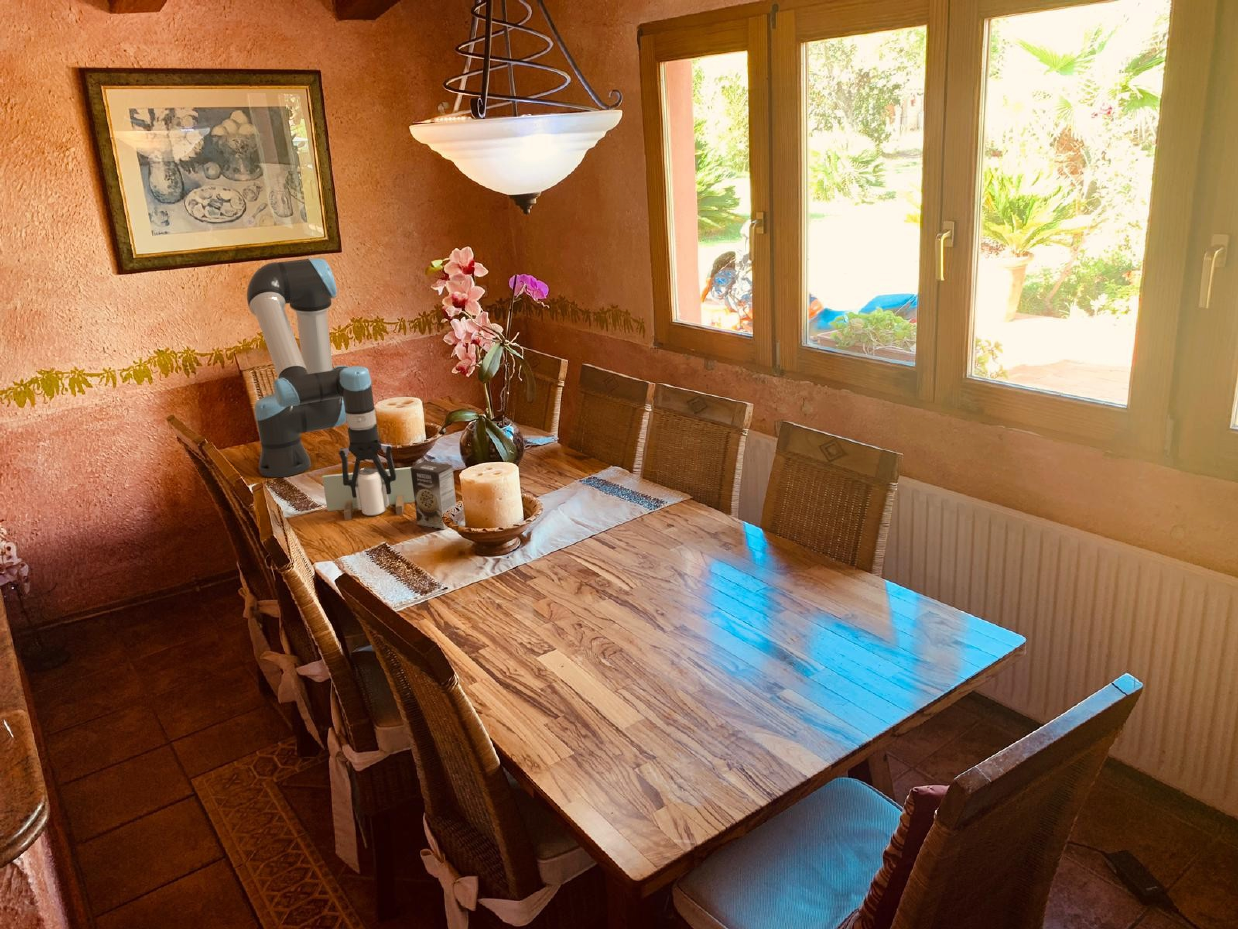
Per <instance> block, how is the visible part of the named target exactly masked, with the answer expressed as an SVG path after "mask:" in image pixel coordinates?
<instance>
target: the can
mask: <svg viewBox="0 0 1238 929" xmlns="http://www.w3.org/2000/svg"><path fill="white" fill-rule="evenodd" d="M357 482H358V488H359V495H360V501H361V508H362V510H361V512H362V514H364V515H365V516H369V517H373V516H379V515H381V514H384V513H385V512H386V510H387V507H385V500H384V493H383V486H382V484H383V481H382V476H381V474H380V473H379V471H378V469H377V467H376V466H366V467H362V468H359V470H358V475H357Z"/></svg>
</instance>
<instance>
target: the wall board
mask: <svg viewBox="0 0 1238 929" xmlns="http://www.w3.org/2000/svg"><path fill="white" fill-rule="evenodd" d="M411 467H412V466H408V467H399V468H395V472H396V480H395V481H392V482H390V485H391V494H388V500H389V505H388V506H391V505H395V512H396V516H401V515H404V506H405V504H411V503H415V500H414V492H413V484H412V476H411V469H410V468H411ZM385 470H386V472H387V474H388V476H390V472H389V468H388V469H387V468H386V469H385ZM348 475H349V480H352V476H353V472H348ZM321 480H322V485H323V490H324V496H325V498H324V499H325V503H326V509H327V512H332V511H342V510H343V518H344V521H351V520H352V518H353V515H354V514H353V513H354V509H358V502H357V498H353V496H352V490H351V487H350V486H345V485H343V473H336V474H328V475H327V474H325V475H322V478H321ZM382 481H384V480H383V478H382ZM356 484H358V482H357V480H356Z"/></svg>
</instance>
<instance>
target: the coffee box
mask: <svg viewBox="0 0 1238 929" xmlns="http://www.w3.org/2000/svg"><path fill="white" fill-rule="evenodd" d="M410 467H411V468H410V469H411V476H412V484H413V492H414V500H415V502H414V507H415V515H416V521H417V522H416V524H417V525H419V526H425V527H429V528H432V527H434V528H433V529H437V528H441V529H440V530H442V529H445V528H446V529H448V528H449V527H446V526H445V524H444V523H443V520H442V517H443V514H444V513H446V512H447V511H448V510H451V509H453V508H454V507H456V508H457V500H456V499H457V498H456V490H455V480H454V469H453V464H448V463H442V462H436V461H429V460H424V461H422V462H419V463H416V464H415V465H413V466H410ZM446 529H445V530H446Z"/></svg>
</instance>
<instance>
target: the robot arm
mask: <svg viewBox="0 0 1238 929" xmlns="http://www.w3.org/2000/svg"><path fill="white" fill-rule="evenodd" d="M246 290H247V291H246V300H247V305H248V308H249V311H250V312H251V314H253V316H255V317H256V319H257V322H258V325H259V328H260V330H261V334H262V336H263V339H264V341H265V344H266V347H267V350H268V353H269V355H270V359H271V361H272V364H273V367H274V370H275V372H276V376H277V379H274V380H273V384H272V386H273V393H271V394H268V395H266V396H263V397H261V398H260V399H258V400H257V401H256V402H255V403H254V414H255V415H254V418H255V421H256V425H257V429H258V436H259V440H260V441H259V443H260V447H261V451H260V456H259V462H258V463H259V464H258V470H259V474H261V476H263V477H267V478H283V477H284V478H285V477H291V476H295V475H298V474H302V473H304V472H306V471H307V470H309V469H310V468H311V467H312V464H311V463H312V462H311V458H310V455H309V454H308V452H307V450H306V449H305V447H304V445H303V442H302V438H301V434H305V433H306V434H308V433H312V432H316V431H322V430H327V429H334V428H336V427H341V426H343V425H344V424H346V427H348V428H347V434H348V442H349V446H348V447H344V448H343V447H340V449H339V452H338V455H339V457H340V458H341V459H340V460H341V469H342V474H343V485H345V486H350V487H351V490H352V496H353V498H357V502H358V508H357V509H358V511H360V510H361V511H362V508H361V501H360V495H359V488H358V484H356V480H357V475H358V470H360V465H361V462H362V461H368V460H369V461H372V462H373V463H374V465H375V467H377V469H378V471H379V473H380V474H381V476H382V478H383V480H384V481H383V484H382V486H383V493H384V500H385V507H386V508H388V507H389V506H390V505H389V500H388V494H391V485H390V482H392V481H395V480H396V472H395V469H396V468H395V464H394V460H393V457H392V444H391V443H387V444H384V443H382V442H381V441H380V439H379V432H378V429H379V428H378V425H377V415H376V409H375V402H374V396H373V395H374V394H373V387H372V378H371V375H370V371H369V369H368V368H367V367H366V366H361V365H359V366H358V365H357V366H348V365H341V364H340V365H337V366H335V367H333V360H332V359H333V358H332V349H331V339H330V338H331V337H330V331H329V318H328V310H329V309H330V308H331V307H332V299H335V298H336V297H338V288H337V284H336V280H335V277H334V274H333V272H332V268H331V267H330V265H329V263H328V262H327V260H325V259H324V258H322V257H321V258H319V257H318V258H310V257H308V258H303V259H297V260H296V259H294V260H286V261H279V262H278V261H275V262H269V263H267V264H264V265H262V266H261V267H260V268H258V269H257V270H256V271H255V273H254V274H253V275H252V277H251V278H250V280H249V282H248V285H247V289H246ZM286 304H289V307H290V309H291V310H292V311H294V312H295V313H296V322H297V330H298V337H299V338H298V339H299V345H298V342H297V340H296V337H295V334H294V331H293V329H292V326H291V323H290V321H289V319H288V316H287V313H286V310H285V308H286ZM299 347H300V348H299ZM381 450H382V452H383V453H384V454H385V458H386V459H385V460H386V463H387V466H388V469H389V472H390V476H388V474H387V472H386V469H385V467H384V465H383V462H382V461H381V459H380V456H379V453H380V451H381ZM350 453H351V454H352V455H353V456H354V457H355V462H354V467H353V471H352V473H353V476H352V480H349V475H348V473H349V462H348V461H349V460H348V457H349V455H350Z"/></svg>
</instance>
